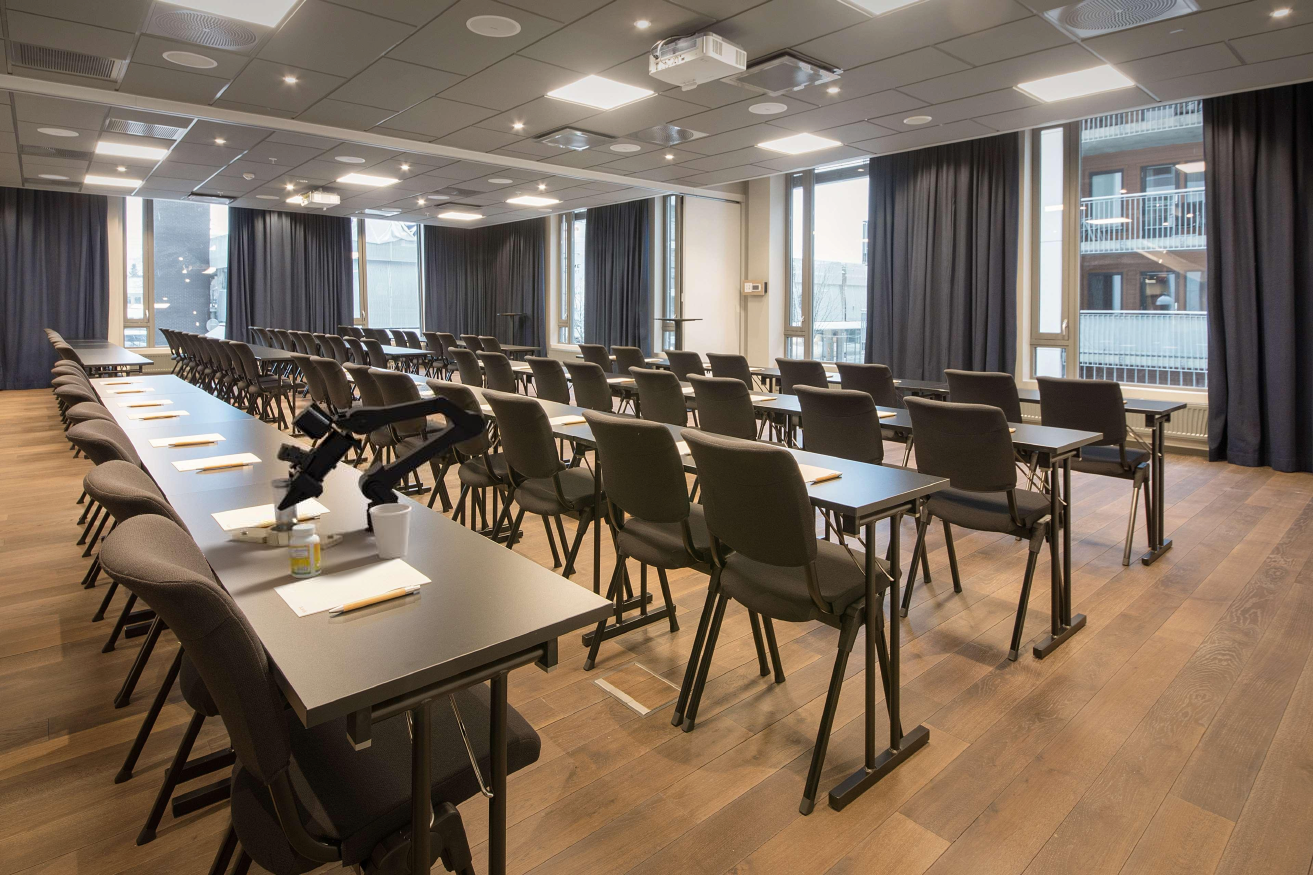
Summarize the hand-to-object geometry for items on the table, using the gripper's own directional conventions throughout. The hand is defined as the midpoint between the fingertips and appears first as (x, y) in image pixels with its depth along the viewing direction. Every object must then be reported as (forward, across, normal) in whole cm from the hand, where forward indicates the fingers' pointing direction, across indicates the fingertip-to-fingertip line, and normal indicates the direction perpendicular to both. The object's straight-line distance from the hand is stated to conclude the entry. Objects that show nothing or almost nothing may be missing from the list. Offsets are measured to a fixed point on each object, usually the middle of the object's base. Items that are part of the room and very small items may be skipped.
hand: (278, 507), depth 169 cm
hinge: (+5, 0, +6) cm, 8 cm away
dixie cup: (-9, +20, +20) cm, 30 cm away
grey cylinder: (+4, 0, +6) cm, 7 cm away
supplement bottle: (+3, +25, +8) cm, 27 cm away
